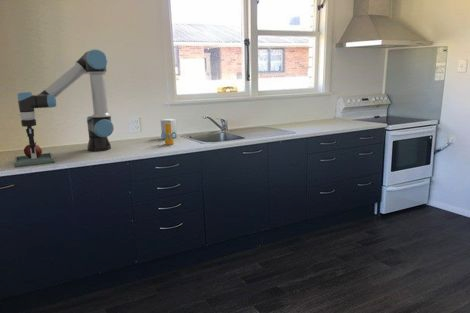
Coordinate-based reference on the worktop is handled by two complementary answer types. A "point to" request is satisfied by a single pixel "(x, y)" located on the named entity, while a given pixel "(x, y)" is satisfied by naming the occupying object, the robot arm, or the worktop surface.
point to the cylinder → (168, 135)
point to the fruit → (28, 152)
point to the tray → (33, 160)
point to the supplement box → (173, 126)
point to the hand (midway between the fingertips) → (33, 156)
